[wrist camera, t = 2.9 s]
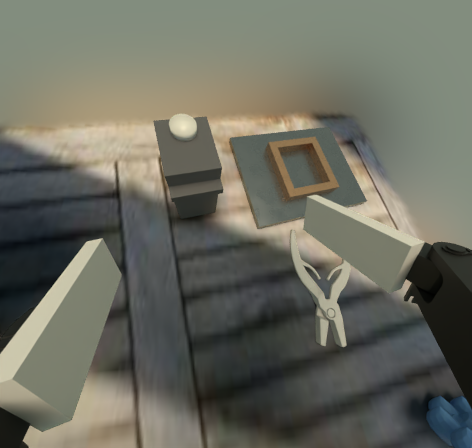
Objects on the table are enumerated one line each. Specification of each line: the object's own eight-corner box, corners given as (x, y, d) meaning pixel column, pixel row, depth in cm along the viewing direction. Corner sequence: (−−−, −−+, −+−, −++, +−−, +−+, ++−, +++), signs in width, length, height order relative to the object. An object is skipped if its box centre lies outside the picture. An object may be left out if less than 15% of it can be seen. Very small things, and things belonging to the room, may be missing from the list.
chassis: (257, 229, 27) (262, 223, 25) (229, 142, 31) (231, 130, 29) (362, 203, 32) (374, 197, 29) (325, 131, 36) (334, 120, 33)
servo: (182, 227, 25) (165, 183, 14) (171, 175, 27) (148, 103, 16) (217, 219, 26) (226, 174, 15) (204, 170, 29) (203, 99, 17)
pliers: (352, 235, 28) (369, 347, 23) (345, 237, 29) (359, 343, 25) (292, 228, 27) (297, 345, 22) (288, 230, 28) (291, 341, 23)
